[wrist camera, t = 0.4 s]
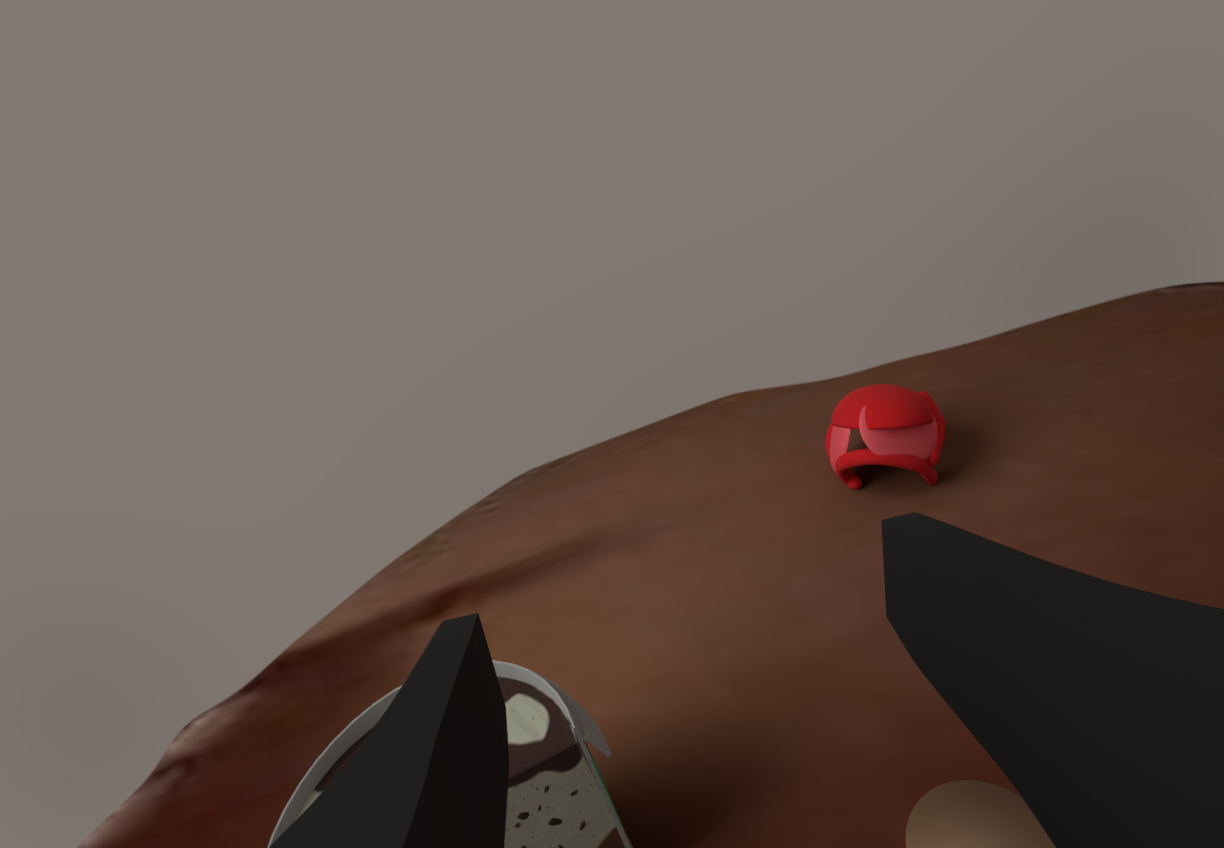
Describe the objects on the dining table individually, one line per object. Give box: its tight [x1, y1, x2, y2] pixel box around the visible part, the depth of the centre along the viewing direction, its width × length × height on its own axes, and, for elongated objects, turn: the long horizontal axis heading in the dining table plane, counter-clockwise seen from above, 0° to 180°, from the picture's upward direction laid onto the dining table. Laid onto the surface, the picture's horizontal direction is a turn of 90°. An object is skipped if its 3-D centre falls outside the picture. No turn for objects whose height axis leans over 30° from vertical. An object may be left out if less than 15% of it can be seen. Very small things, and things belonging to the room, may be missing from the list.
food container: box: [267, 660, 633, 848], centre depth 28 cm, size 12×6×10 cm, turn 106°
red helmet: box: [826, 384, 946, 490], centre depth 41 cm, size 8×6×6 cm
